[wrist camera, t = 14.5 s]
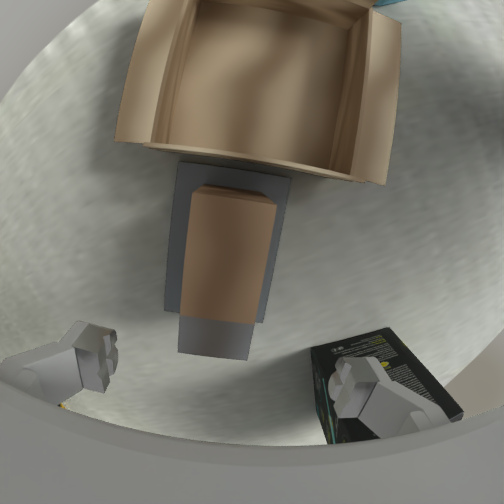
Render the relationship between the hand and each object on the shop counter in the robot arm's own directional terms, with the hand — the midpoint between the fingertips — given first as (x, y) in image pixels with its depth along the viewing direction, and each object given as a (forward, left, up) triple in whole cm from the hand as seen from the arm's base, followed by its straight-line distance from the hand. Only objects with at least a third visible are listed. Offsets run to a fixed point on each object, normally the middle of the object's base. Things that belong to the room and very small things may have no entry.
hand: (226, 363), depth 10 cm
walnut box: (0, 0, -15) cm, 15 cm away
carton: (-1, -14, -16) cm, 21 cm away
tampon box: (-16, +13, -16) cm, 26 cm away
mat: (0, 0, -16) cm, 16 cm away
